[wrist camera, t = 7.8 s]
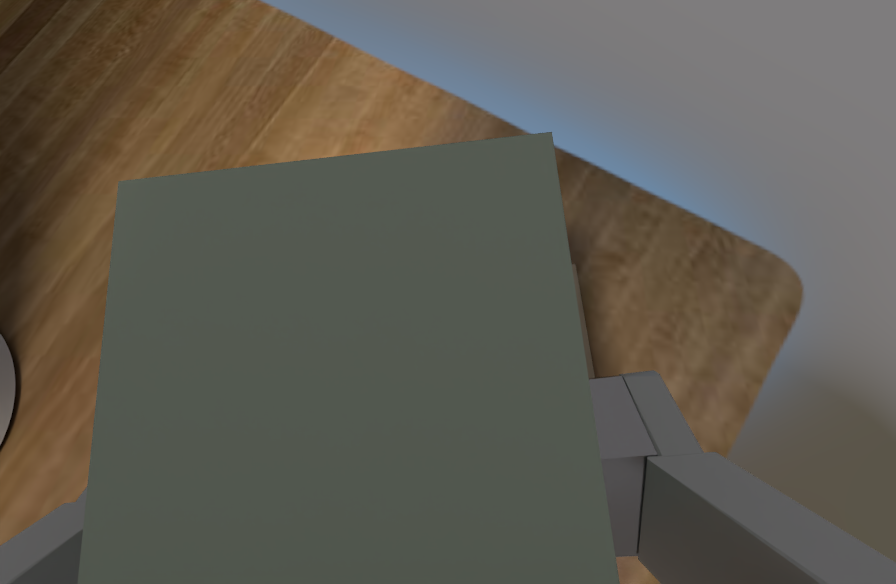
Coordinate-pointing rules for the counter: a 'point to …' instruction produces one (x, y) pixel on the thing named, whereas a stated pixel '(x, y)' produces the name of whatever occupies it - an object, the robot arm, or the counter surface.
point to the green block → (347, 377)
